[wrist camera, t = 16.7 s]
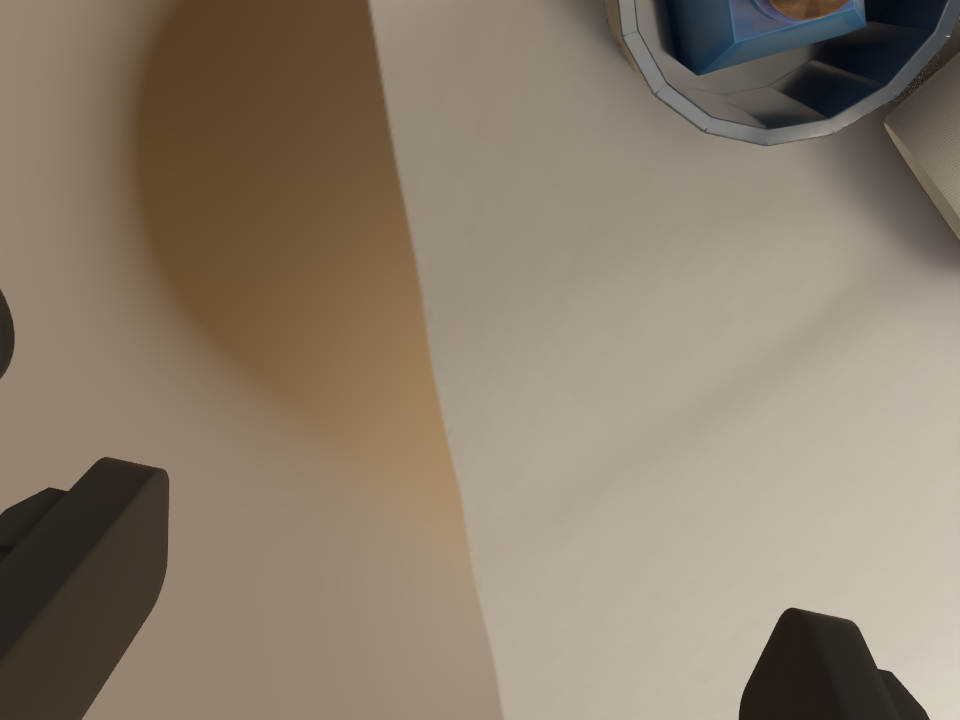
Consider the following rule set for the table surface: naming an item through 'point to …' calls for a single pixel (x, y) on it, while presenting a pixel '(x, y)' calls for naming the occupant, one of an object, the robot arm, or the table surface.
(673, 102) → the holder
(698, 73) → the perfume bottle
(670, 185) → the table surface
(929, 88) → the light fixture
